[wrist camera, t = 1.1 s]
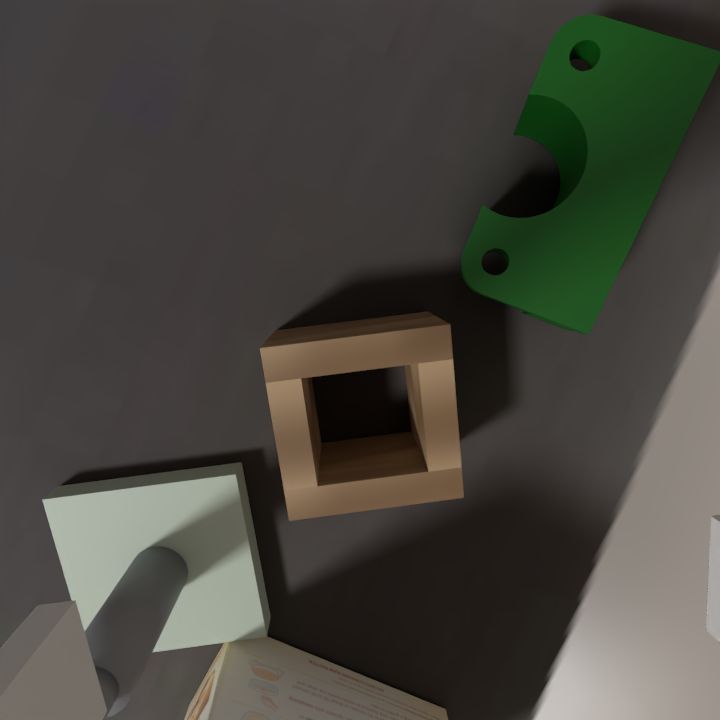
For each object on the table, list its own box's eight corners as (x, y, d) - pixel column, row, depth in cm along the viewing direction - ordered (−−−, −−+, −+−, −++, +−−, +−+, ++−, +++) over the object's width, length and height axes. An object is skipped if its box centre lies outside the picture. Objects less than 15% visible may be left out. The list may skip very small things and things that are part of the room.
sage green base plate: (59, 485, 25) (-101, 615, 16) (241, 462, 26) (186, 577, 16) (102, 639, 28) (-17, 832, 18) (270, 616, 28) (236, 795, 19)
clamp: (512, 138, 27) (579, -27, 18) (614, 173, 26) (735, 17, 17) (436, 318, 24) (472, 226, 16) (547, 362, 24) (650, 292, 15)
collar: (275, 330, 24) (259, 348, 19) (427, 311, 24) (450, 324, 19) (298, 471, 26) (289, 520, 21) (440, 453, 26) (463, 497, 21)
